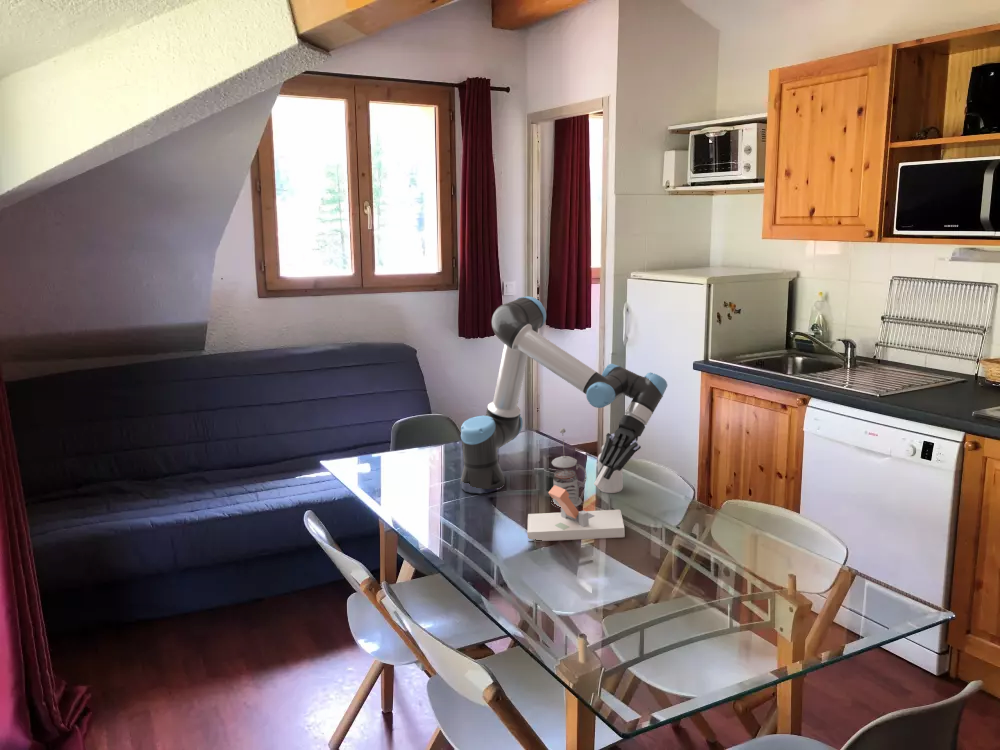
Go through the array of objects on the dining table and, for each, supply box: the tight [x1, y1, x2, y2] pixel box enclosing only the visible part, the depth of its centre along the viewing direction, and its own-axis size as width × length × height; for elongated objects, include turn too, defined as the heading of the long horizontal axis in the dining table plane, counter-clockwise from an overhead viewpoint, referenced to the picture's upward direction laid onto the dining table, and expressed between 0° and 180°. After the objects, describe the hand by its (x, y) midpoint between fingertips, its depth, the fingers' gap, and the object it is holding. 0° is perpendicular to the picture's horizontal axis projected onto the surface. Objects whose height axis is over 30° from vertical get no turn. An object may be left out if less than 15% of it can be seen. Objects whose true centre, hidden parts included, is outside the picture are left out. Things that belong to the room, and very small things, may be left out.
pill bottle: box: [597, 444, 624, 494], centre depth 262 cm, size 8×8×15 cm
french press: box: [551, 427, 588, 508], centre depth 254 cm, size 10×12×25 cm
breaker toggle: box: [548, 484, 580, 522], centre depth 234 cm, size 3×5×13 cm
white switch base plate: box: [527, 507, 626, 542], centre depth 237 cm, size 28×12×7 cm, turn 87°
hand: (597, 486), depth 240 cm, fingers closed
